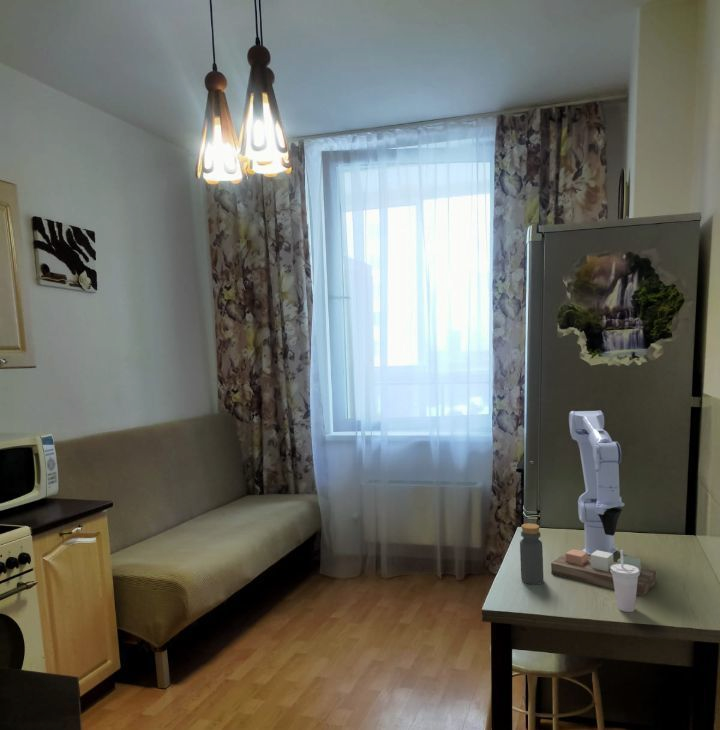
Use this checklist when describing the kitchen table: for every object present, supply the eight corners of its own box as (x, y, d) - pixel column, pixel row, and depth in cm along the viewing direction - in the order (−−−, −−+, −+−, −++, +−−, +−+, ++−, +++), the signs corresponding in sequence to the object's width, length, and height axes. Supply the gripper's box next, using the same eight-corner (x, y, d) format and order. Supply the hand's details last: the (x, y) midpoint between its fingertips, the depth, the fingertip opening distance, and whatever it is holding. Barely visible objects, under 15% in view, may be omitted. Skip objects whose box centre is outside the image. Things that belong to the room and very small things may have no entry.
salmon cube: (572, 562, 163) (572, 548, 163) (588, 566, 160) (587, 552, 160) (566, 567, 160) (565, 553, 160) (581, 571, 157) (581, 556, 157)
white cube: (597, 564, 158) (596, 550, 158) (613, 568, 155) (613, 553, 155) (591, 569, 155) (590, 554, 155) (607, 573, 152) (607, 558, 152)
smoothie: (615, 600, 141) (613, 544, 141) (643, 606, 137) (642, 549, 137) (608, 610, 136) (606, 551, 136) (637, 617, 132) (635, 557, 132)
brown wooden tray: (568, 562, 167) (567, 551, 167) (656, 582, 151) (656, 570, 151) (551, 573, 159) (551, 562, 159) (643, 596, 143) (642, 584, 143)
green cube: (623, 570, 153) (623, 555, 153) (641, 574, 150) (640, 559, 150) (617, 575, 150) (617, 560, 150) (635, 579, 147) (635, 563, 147)
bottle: (533, 586, 151) (531, 530, 151) (516, 579, 156) (514, 525, 156) (548, 581, 154) (546, 526, 154) (530, 574, 159) (529, 521, 159)
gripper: (613, 492, 151) (615, 543, 151) (632, 482, 161) (633, 530, 161) (586, 489, 155) (588, 538, 155) (606, 480, 166) (608, 526, 166)
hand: (609, 534), depth 159 cm, fingers closed
